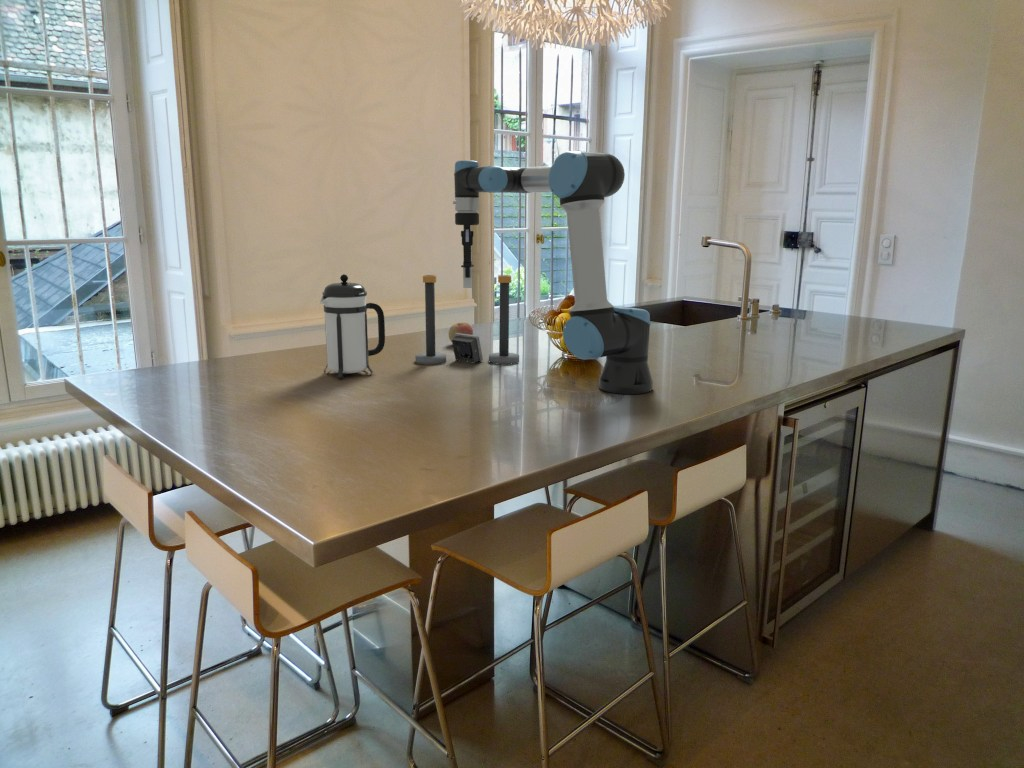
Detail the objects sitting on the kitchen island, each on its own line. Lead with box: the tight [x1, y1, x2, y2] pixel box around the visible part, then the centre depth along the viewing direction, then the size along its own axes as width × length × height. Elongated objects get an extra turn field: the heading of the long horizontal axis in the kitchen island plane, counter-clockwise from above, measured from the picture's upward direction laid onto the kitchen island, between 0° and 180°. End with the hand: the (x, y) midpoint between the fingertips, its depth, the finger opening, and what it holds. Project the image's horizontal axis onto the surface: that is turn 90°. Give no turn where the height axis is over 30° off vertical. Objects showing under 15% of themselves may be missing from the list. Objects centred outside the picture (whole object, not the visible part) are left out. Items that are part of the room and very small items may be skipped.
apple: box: [448, 322, 474, 343], centre depth 275 cm, size 9×9×8 cm
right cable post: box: [488, 274, 520, 365], centre depth 246 cm, size 10×10×28 cm
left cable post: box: [414, 274, 447, 366], centre depth 245 cm, size 10×10×28 cm
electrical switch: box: [451, 333, 484, 364], centre depth 248 cm, size 9×5×9 cm, turn 57°
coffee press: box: [319, 273, 386, 380], centre depth 227 cm, size 17×16×30 cm
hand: (467, 287), depth 243 cm, fingers closed
